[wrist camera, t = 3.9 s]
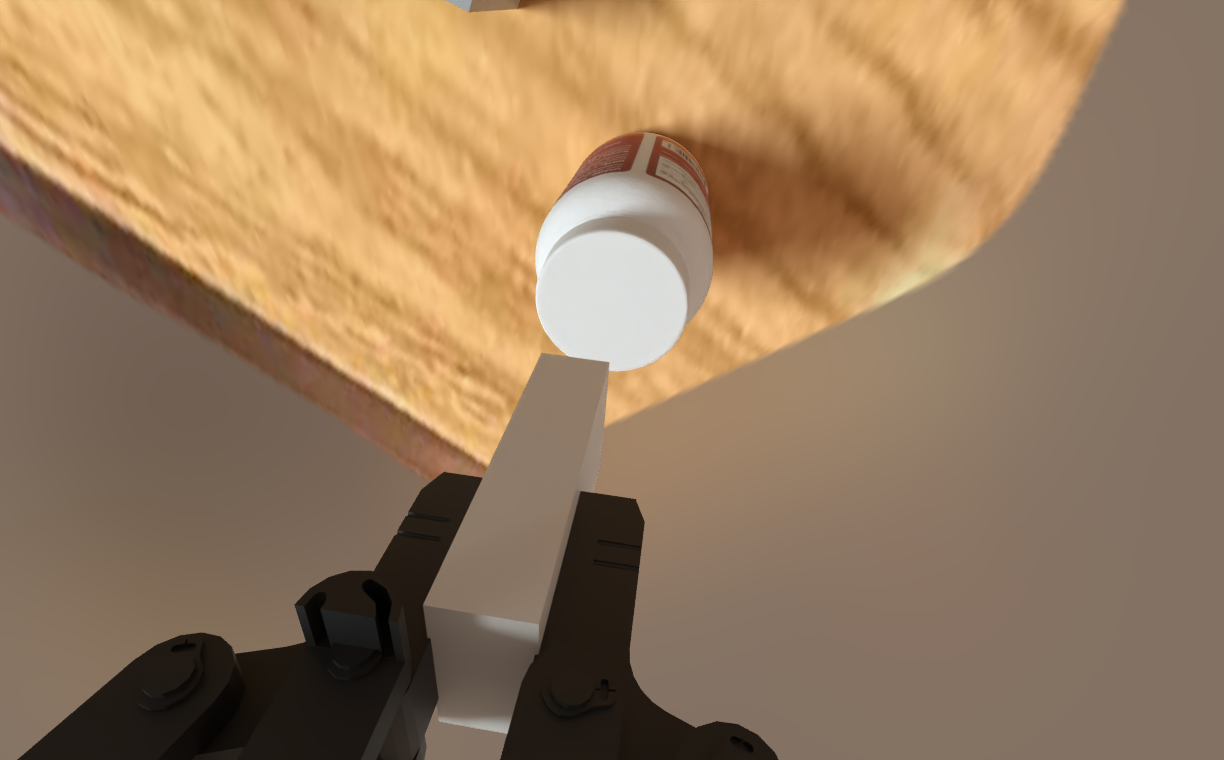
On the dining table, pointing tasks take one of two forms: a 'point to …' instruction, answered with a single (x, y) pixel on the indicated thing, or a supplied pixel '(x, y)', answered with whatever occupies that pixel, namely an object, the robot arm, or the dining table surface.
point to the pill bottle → (626, 252)
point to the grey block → (485, 5)
